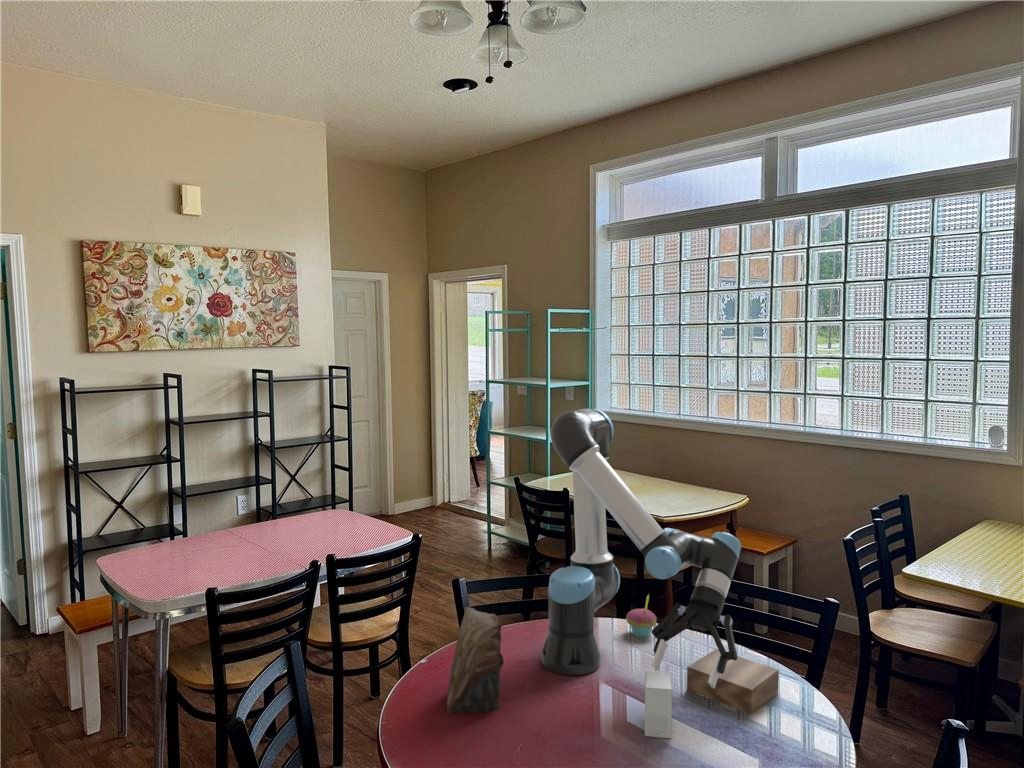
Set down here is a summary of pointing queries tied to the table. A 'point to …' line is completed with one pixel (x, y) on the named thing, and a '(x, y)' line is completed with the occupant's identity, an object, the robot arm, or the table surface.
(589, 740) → the table surface
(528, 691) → the table surface
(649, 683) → the small box
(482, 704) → the owl
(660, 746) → the table surface
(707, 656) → the walnut block
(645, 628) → the cupcake
